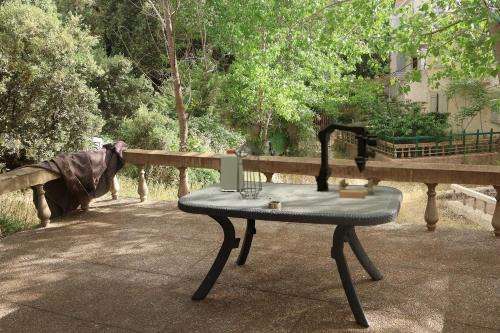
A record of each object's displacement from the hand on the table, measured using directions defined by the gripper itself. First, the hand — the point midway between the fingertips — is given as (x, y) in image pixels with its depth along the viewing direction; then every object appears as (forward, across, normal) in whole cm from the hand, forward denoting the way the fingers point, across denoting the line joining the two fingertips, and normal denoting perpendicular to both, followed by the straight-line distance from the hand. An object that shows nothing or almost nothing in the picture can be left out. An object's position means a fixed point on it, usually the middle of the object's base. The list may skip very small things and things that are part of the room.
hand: (362, 171), depth 285 cm
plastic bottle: (+14, -2, +88) cm, 89 cm away
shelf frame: (+14, 0, +4) cm, 14 cm away
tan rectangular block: (+14, -13, +4) cm, 20 cm away
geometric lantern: (+14, -22, +66) cm, 72 cm away
